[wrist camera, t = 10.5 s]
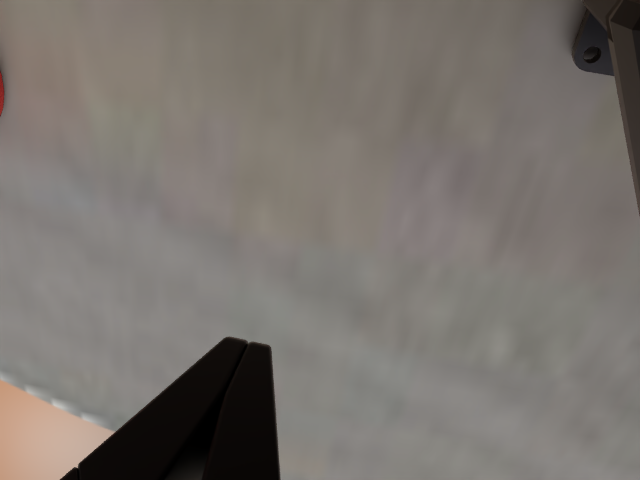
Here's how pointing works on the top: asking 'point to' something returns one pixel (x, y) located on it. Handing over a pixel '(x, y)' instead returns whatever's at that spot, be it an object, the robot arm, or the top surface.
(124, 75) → the top surface
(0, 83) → the canned food
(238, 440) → the robot arm
